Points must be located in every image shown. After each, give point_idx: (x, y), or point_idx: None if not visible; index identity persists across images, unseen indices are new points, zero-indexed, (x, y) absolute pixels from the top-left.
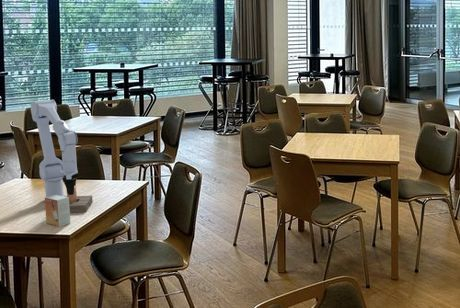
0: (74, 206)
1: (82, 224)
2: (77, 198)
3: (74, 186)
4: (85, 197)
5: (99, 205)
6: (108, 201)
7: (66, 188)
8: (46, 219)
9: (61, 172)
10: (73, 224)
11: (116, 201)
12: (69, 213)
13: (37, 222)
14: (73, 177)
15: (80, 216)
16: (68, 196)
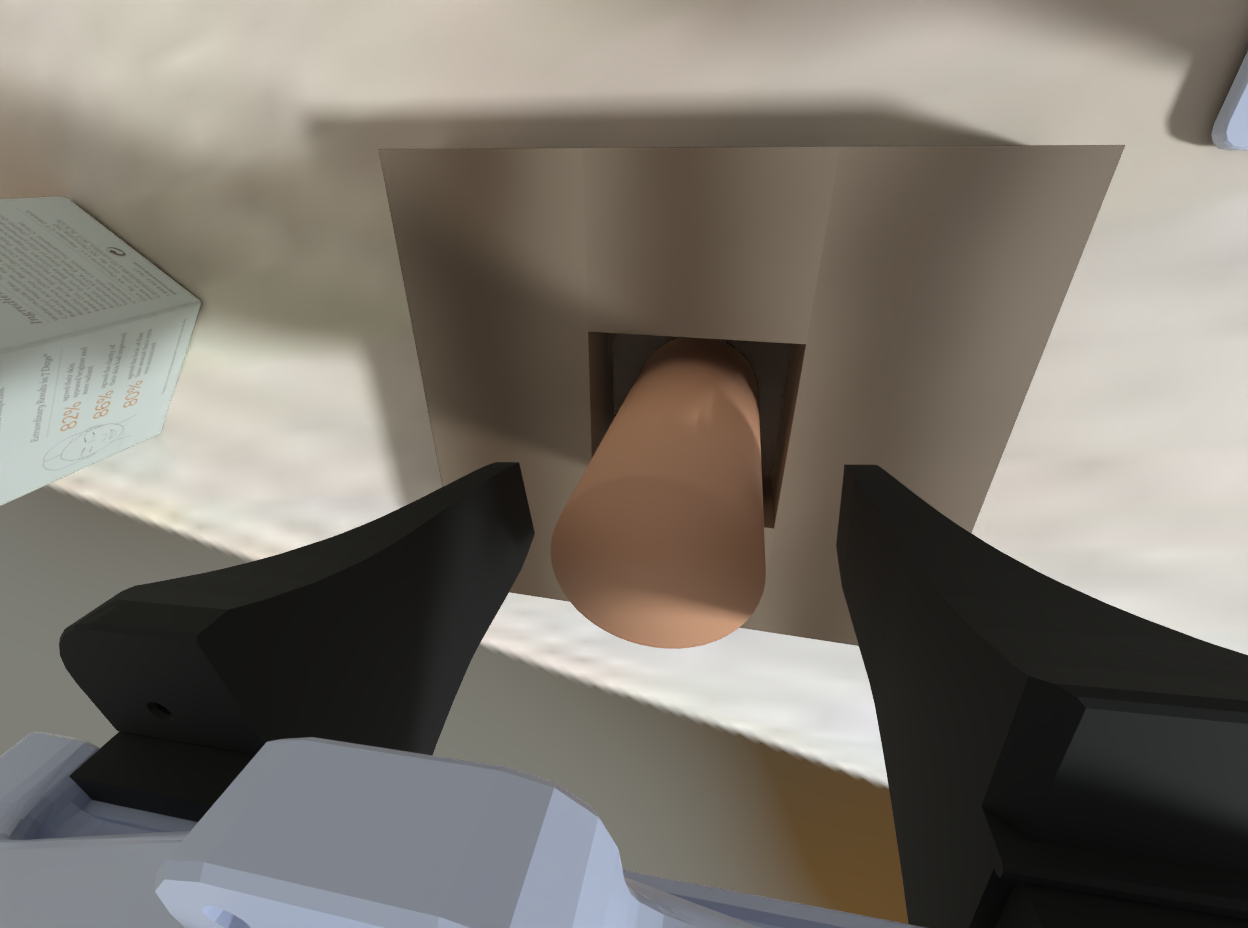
0: (446, 473)
1: (170, 519)
2: (805, 494)
3: (679, 625)
4: (831, 585)
5: (726, 640)
6: (867, 711)
7: (394, 512)
8: (11, 204)
9: (206, 869)
10: (147, 458)
11: (838, 758)
12: (56, 475)
13: (61, 54)
14: (918, 805)
15: (360, 496)
16: (609, 428)
